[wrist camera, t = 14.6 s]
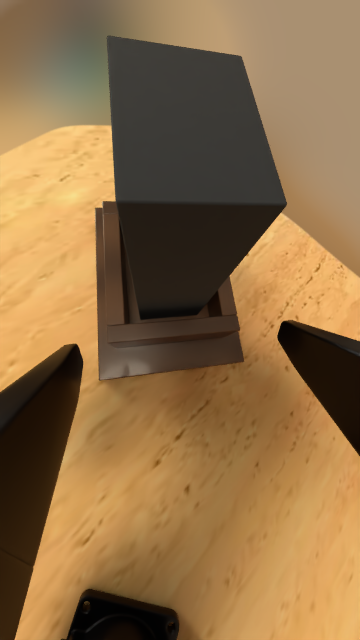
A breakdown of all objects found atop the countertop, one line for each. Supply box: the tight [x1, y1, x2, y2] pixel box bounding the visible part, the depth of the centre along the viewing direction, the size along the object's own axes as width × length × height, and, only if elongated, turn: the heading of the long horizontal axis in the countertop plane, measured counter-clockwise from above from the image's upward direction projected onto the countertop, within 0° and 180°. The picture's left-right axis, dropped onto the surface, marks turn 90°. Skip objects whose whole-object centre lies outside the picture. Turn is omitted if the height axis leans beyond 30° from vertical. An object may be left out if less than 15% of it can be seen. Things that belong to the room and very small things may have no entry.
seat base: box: [95, 201, 244, 380], centre depth 17 cm, size 16×12×4 cm
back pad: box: [107, 36, 287, 320], centre depth 12 cm, size 7×5×12 cm
